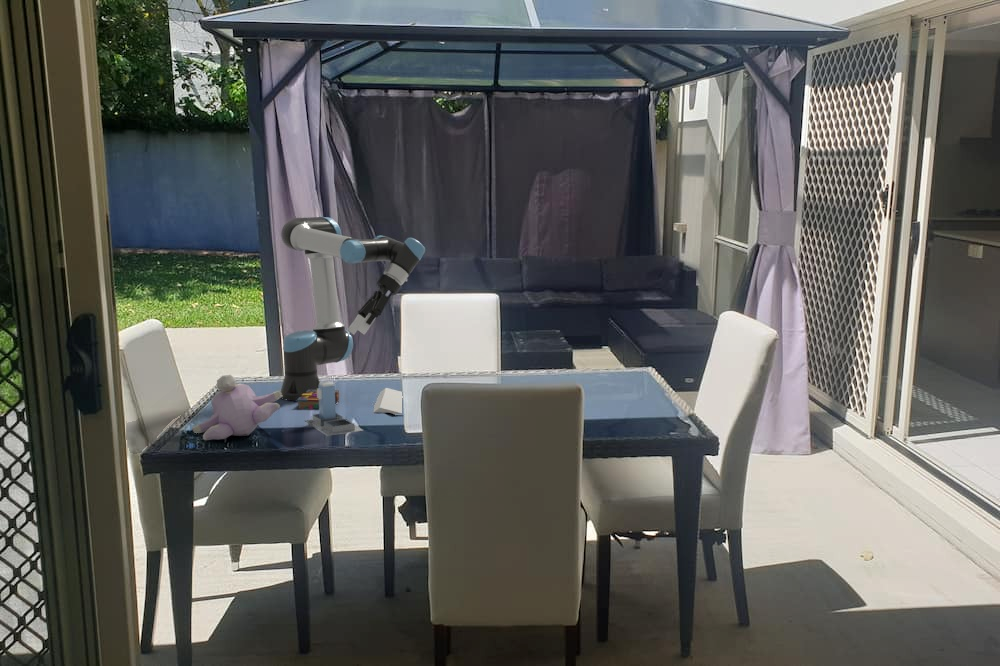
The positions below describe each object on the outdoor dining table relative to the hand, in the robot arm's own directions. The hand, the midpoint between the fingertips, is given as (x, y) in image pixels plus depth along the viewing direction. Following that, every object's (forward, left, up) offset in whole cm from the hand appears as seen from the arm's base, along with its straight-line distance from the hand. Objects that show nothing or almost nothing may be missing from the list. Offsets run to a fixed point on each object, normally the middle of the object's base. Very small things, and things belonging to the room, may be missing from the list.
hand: (355, 332), depth 283 cm
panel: (+8, -12, -29) cm, 32 cm away
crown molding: (-11, +16, -30) cm, 35 cm away
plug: (+3, -12, -28) cm, 30 cm away
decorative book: (-21, -6, -29) cm, 37 cm away
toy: (-6, -37, -29) cm, 48 cm away
